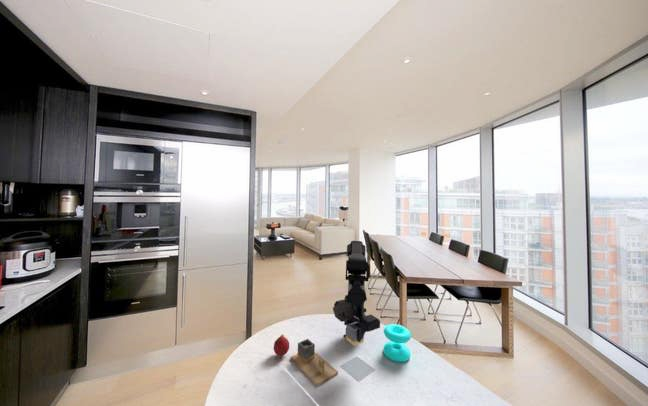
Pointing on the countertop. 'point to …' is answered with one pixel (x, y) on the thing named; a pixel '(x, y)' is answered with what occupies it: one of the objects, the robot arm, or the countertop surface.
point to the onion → (281, 346)
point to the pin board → (312, 363)
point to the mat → (357, 368)
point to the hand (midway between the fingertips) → (354, 338)
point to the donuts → (397, 342)
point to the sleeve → (352, 334)
